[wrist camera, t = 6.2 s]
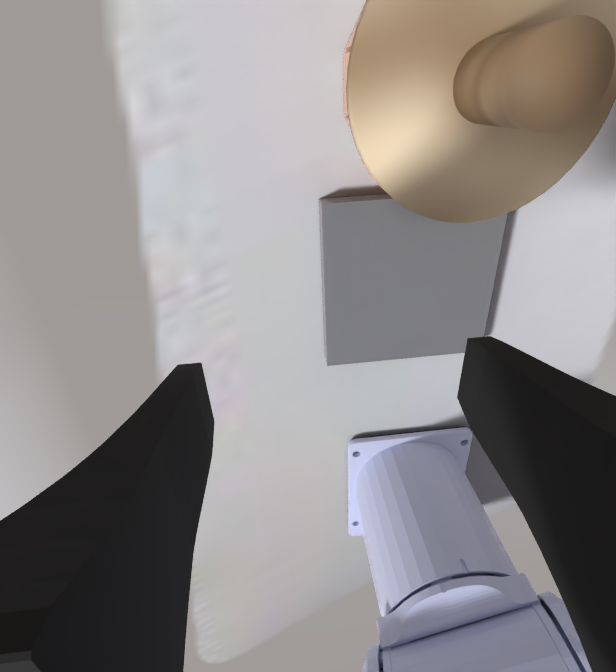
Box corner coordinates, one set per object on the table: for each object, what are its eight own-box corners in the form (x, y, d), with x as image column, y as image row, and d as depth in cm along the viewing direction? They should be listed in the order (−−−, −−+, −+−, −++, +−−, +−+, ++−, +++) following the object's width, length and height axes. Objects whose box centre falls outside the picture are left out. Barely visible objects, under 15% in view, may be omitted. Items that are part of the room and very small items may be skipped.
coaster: (472, 341, 23) (480, 350, 22) (325, 355, 23) (327, 365, 22) (501, 185, 19) (512, 189, 18) (318, 198, 18) (321, 204, 18)
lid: (569, 209, 16) (666, 246, 12) (345, 225, 16) (372, 268, 12) (657, -110, 12) (855, -212, 8) (347, -103, 11) (391, -209, 7)
